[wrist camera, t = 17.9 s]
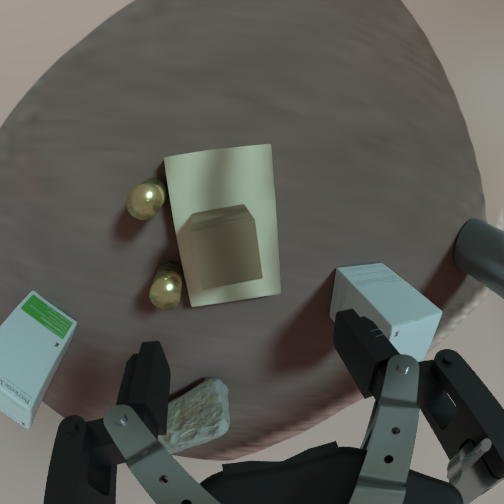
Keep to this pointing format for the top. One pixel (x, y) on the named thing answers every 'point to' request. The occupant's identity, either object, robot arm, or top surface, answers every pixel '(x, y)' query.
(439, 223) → the top surface
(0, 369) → the skincare box
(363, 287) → the supplement box
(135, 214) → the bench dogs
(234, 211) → the walnut block
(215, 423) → the stone
